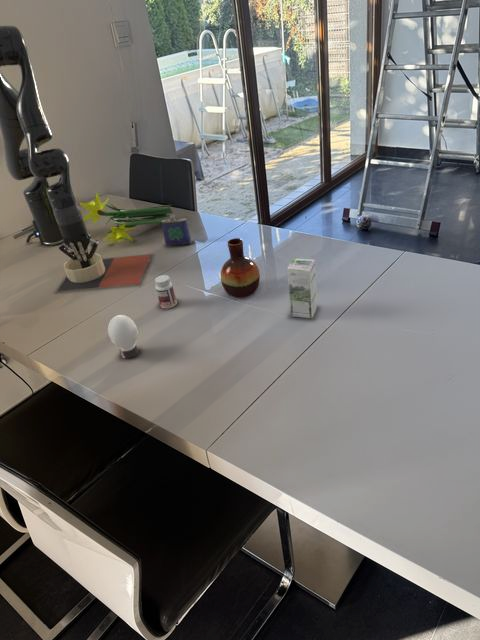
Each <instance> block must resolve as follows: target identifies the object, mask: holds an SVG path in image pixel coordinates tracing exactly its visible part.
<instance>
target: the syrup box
mask: <svg viewBox="0 0 480 640" xmlns="http://www.w3.org/2000/svg"><path fill="white" fill-rule="evenodd" d="M286 269H287V270H286V271H287V281H288V291H289V295H288V296H289V306H290V316H291V318H300V319H309V320H312V319H313V318H314V315H315V313H316V311H317V308H318V304H317V303H318V302H317V281H316V280H317V279H316V260H315V259H308V258H292V260H291V261H290V262H289V265H288V267H287V268H286Z"/></svg>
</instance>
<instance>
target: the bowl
mask: <svg viewBox="0 0 480 640" xmlns="http://www.w3.org/2000/svg"><path fill="white" fill-rule="evenodd" d="M102 259H103V257H102V255H101V254H99V253H98V252H95V253H94V255H93V257H92V258H91V259H90V261H91V264H92V266H90V267H87V268H84V269H82V266H81V264H80V261H78V260H73V259H71V258H70V257H69V258H68V259H67V260H65V262H64V263H63V270H64V272H65V275H66V278H67V277H68V279H69V280H70V281H71V282H75V283H83V282H88V281H92V280H94V279H97V278H98V277H100V276H101V275H103V274H104V272H105V266H104V263H103V260H102Z"/></svg>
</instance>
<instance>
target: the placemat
mask: <svg viewBox="0 0 480 640" xmlns="http://www.w3.org/2000/svg"><path fill="white" fill-rule="evenodd" d="M151 257H152V254H144V255H133V256H123V257H112V258H111V257H109V258H102V260H103V263H104V266H105V272H104V274H103V275H101V276H100V277H98V278H97V279H94V280H92V281H88V282H83V283H75V282H71V281H70V280H69V279H68V277H67V276H66V278H65V279H64V281H63V282H62V284H61V285H60V286H59V288H58V290H57V292H64V291H75V290H77V291H78V290H86V289H87V290H88V289H99V288H110V287H118V286H119V287H120V286H122V287H123V286H133V285H134V286H135V285H139V284H140V282H141V281H142V278H143V276H144V273H145V271H146V269H147V266H148V263H149V261H150V259H151Z"/></svg>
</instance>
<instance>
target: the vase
mask: <svg viewBox="0 0 480 640" xmlns="http://www.w3.org/2000/svg"><path fill="white" fill-rule="evenodd" d="M227 247H228V251H229V255H230V256H229V257H230V258H229V259H227V260H226V261H225V262H224V264H223V265H222V266H221V270H220V274H219V275H220V283H221V286H222V288H223V289H224V291H225V292H226V293H227V294H228V295H229V296H230V297H233V298H237V299H242V298H243V299H244V298H247V297H250V296H252V295H254V293H256V291H257V290H258V288H259V286H260V282H261V281H260V280H261V274H260V269H259V267H258V265H257V264H256V262H254V260H253V259H251V258H249V257H247V256H245V253H244V242H243V239H242V238H239V237H238V238H237V237H234V238H231V239H229V240H228V241H227Z"/></svg>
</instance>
